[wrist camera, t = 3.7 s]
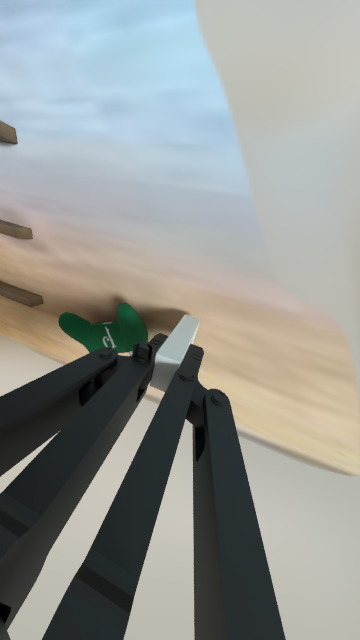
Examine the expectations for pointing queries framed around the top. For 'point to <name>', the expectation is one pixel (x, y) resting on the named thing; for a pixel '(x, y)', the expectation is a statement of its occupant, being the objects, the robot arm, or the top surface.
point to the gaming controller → (107, 330)
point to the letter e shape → (27, 298)
